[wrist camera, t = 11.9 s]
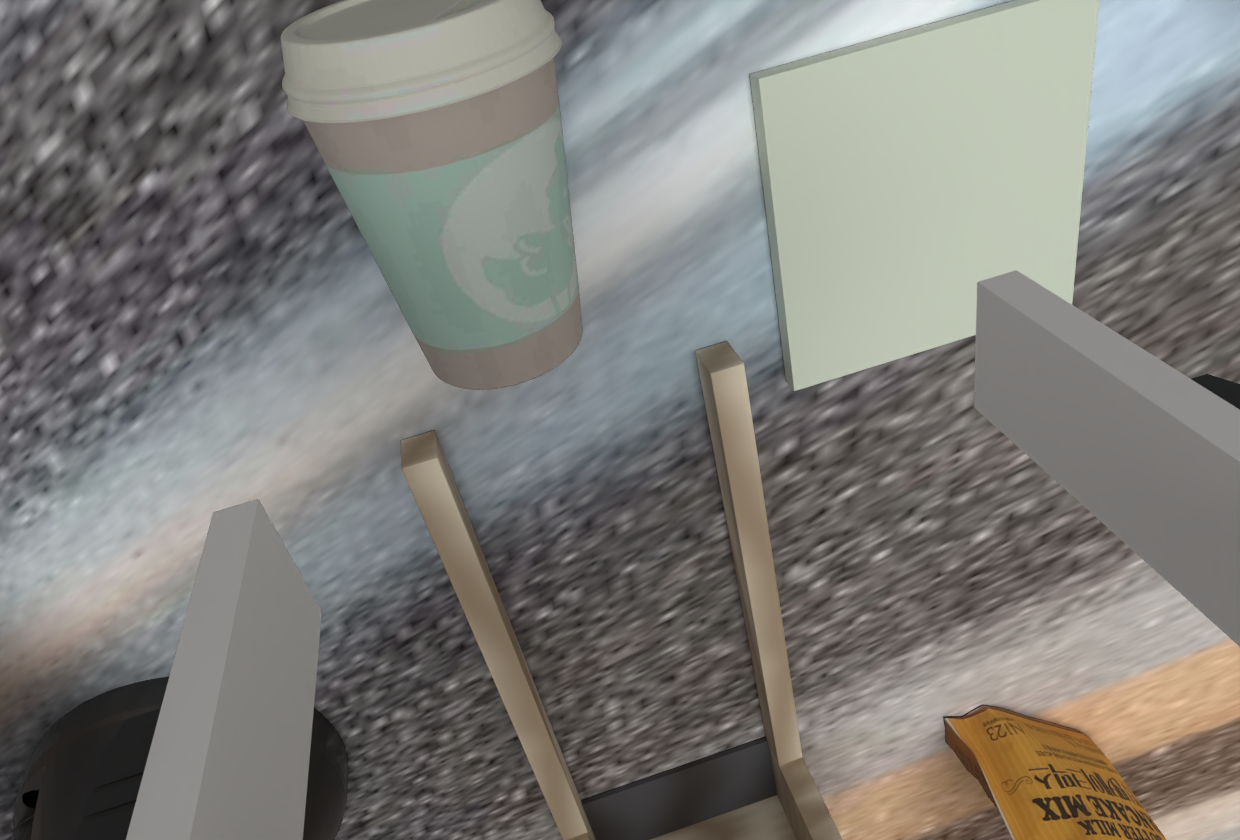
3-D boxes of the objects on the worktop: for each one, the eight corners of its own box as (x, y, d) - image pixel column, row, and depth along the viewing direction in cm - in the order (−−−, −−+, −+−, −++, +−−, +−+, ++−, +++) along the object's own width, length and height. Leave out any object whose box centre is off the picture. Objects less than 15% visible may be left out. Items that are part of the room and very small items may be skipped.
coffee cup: (475, 448, 28) (339, 65, 21) (356, 361, 34) (218, 37, 27) (667, 326, 32) (607, -34, 25) (531, 267, 38) (451, -40, 31)
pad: (785, 380, 41) (794, 391, 40) (749, 74, 34) (758, 78, 33) (1058, 296, 42) (1072, 304, 42) (1083, -20, 35) (1100, -17, 34)
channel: (584, 872, 58) (681, 1332, 39) (400, 440, 38) (421, 953, 20) (799, 797, 59) (988, 1208, 41) (726, 341, 39) (1029, 738, 21)
